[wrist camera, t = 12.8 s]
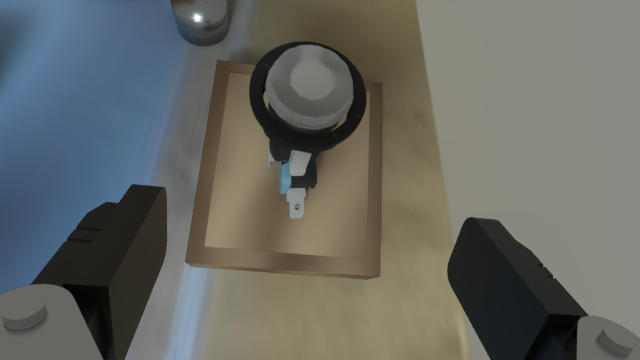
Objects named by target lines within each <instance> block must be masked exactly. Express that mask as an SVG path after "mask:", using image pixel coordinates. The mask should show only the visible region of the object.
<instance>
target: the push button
mask: <svg viewBox="0 0 640 360" xmlns="http://www.w3.org/2000/svg"><path fill="white" fill-rule="evenodd" d="M265 90H266V93H267V98H268V101H269V102H268V109H267V107H266V105H265V102H264V98H263V95H264V92H265ZM249 100H250V105H251V109H252V111H253V114H254V116H255V118H256V120H257V121H258V123H259V124H260V126H261V127H262V128H263V131H264V133H265V135H266V136H267V137H268V138H269V139H270V140H269V146H268V168H270V161H278V171H279V191H280V194H286V197H287V202H289V207H290V218H291V219H292V218H302V217H303V215H304V213H305V212H304V197H306V192H307V190H308V189H314V188H315V186H316V184H317V168H316V162H317V157H318V155H319V153H320V152H323V151H326V150H329V149H332V148H334V147H335V146H336V145H337V144H339V143H341V142H343V141H344V140H346V139H347V138H348V137H349V136H350V135H351V134H352V133H353V132H354V131H355V130H356V128H357V127H358V125H359V124H360V122H361V120H362V118H363V116H364V113H365V109H366V103H367V96H366V89H365V85H364V82H363V79H362V77H361V75H360V73H359V72H358V70H357V69H356V67H355V66H354V65H353V64H352V62H351V61H350V60H349V59H347V58H346V57H345V56H344V55H343V54H341V53H340V52H338V51H336V50H334V49H333V48H330V47H328V46H325V45H322V44H319V43H314V42H292V43H288V44H284V45H281V46H279V47H277V48H275V49H273V50H271V51H270V52H268V53H267V54H266V55H265V56H264V57H263V58H262V59H261V60H260V61H259V62H258V64H257V65H256V67H255V68H254V71H253V73H252V76H251V79H250V84H249ZM346 114H347V117H346V121H345V122H344V123H343V124H342V125H340V126H339V127H338V128H336V127H337V125H338V123H339V121H340V120H341V119H342V118H343V117H344V116H345V115H346ZM295 207H297V208H298V209H299V210H296V209H295Z"/></svg>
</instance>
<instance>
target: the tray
mask: <svg viewBox="0 0 640 360" xmlns="http://www.w3.org/2000/svg"><path fill="white" fill-rule="evenodd" d="M255 67H256V65H250V64H243V63H236V62H229V61H222V60H217V65H216V72H215V78H214V84H213V90H212V97H211V103H210V109H209V115H208V122H207V128H206V134H205V140H204V147H203V153H202V159H201V165H200V172H199V178H198V184H197V190H196V197H195V203H194V209H193V216H192V222H191V228H190V234H189V241H188V247H187V253H186V259H185V262H186V263H187V264H189V265H190V266H192V267H203V268H217V269H230V270H244V271H258V272H272V273H285V274H299V275H313V276H326V277H340V278H354V279H371V278H376V277H380V245H381V155H382V83H376V82H369V81H363V82H364V85H365V89H366V96H367V103H366V109H365V113H364V116H363V118H362V120H361V122H360V124H359V125H358V127H357V128H356V130H355V131H354V132H353V133H352V134H351V135H350V136H349V137H348V138H347V139H346V140H344V141H343V142H341V143H339V144H337V145H336V146H335V147H334V148H332V149H329V150H326V151H323V152H320V153H319V155H318V157H317V162H316V168H317V184H316V186H315V188H314V189H308V190H307V192H306V197H304V212H305V213H304V215H303V217H302V218H292V219H291V218H290V207H289V202H287V197H286V194H280V191H279V171H278V161H270V168H268V146H269V140H270V139H269V138H268V137H267V136H266V135H265V133H264V131H263V128H262V127H261V126H260V124H259V123H258V121H257V120H256V118H255V116H254V114H253V111H252V109H251V105H250V100H249V84H250V79H251V76H252V73H253V71H254V68H255ZM263 98H264V102H265V105H266V107H267V109H268V102H269V101H268V98H267V93H266V90H265V92H264V95H263ZM346 117H347V114H346V115H345V116H344V117H343V118H342V119H341V120H340V121H339V123H338V125H337V127H336V128H338V127H339V126H340V125H342V124H343V123H344V122H345V121H346ZM295 209H296V210H299V209H298V208H297V207H295Z"/></svg>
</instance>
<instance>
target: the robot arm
mask: <svg viewBox="0 0 640 360" xmlns="http://www.w3.org/2000/svg"><path fill="white" fill-rule="evenodd" d="M166 247H167V195H166V189H165V187H157V186H147V185H136V184H132V185H131V186H130V187H129V189H128V190H127V192H126V193H125V195H124V196H123V197H122V199H121V200H120V202H119V203H112V202H105V203H104V204H102V205H100V206H99V207H97V208H95V209H93V210H92V211H90V212H88V213H87V214H86V216H85V217H84V218H83V219H82V221H81V222H80V223H79V224H78V226H77V228H76V230H74V231H73V232H72V233H71V234H70V236H69V237H68V238H67V242H64V243H63V244H62V246H61V247H60V248H59V249H58V251H57V252H56V253H55V255H54V256H53V257H52V258H51V260H50V261H49V262H48V263H47V265H46V266H45V267H44V268H43V270H42V271H41V272H40V273H39V275H38V276H37V277H36V278H35V280H34V281H33V282H32V283H31V285H28V286H23V287H19V288H16V289H13V290H10V291H7V292H5V293H3V294H1V295H0V360H124V359H125V357H126V354H127V352H128V349H129V347H130V344H131V342H132V339H133V337H134V334H135V332H136V329H137V327H138V324H139V322H140V319H141V317H142V315H143V312H144V310H145V307H146V305H147V302H148V300H149V297H150V295H151V292H152V290H153V287H154V285H155V282H156V280H157V277H158V275H159V272H160V270H161V267H162V265H163V262H164V258H165V254H166ZM447 273H448V280H449V283H450V285H451V287H452V289H453V291H454V293H455V294H456V296H457V298H458V300H459V302H460V304H461V306H462V307H463V309H464V311H465V313H466V315H467V317H468V319H469V320H470V322H471V324H472V326H473V328H474V330H475V332H476V333H477V335H478V337H479V339H480V341H481V343H482V344H483V346H484V348H485V350H486V352H487V354H488V356H489V357H490V359H491V360H640V339H639V338H638V337H637V336H636V335H635V334H633V333H632V332H630V331H629V330H627V329H626V328H624V327H622V326H621V325H619V324H617V323H615V322H612V321H610V320H608V319H604V318H601V317H596V316H589V315H588V314H587V313H586V312H585V311H584V310H583V309H582V307H581V306H580V305H579V304H578V303H577V302H576V301H575V300H574V299H573V297H572V296H571V295H570V294H569V293H568V292H567V291H566V290H565V288H564V287H563V286H562V285H561V284H560V283H559V282H558V281H557V279H554V278H553V275H552V274H551V273H550V272H549V271H548V269H547V268H546V267H543V264H542V263H541V262H540V260H539V259H538V258H537V257H536V256H535V255H534V254H533V253H532V252H531V251H530V250H529V249H528V248H526V247H525V246H523V245H522V244H520V243H519V242H517V241H516V240H515V239H514V238H513V237H512V235H511V234H510V233H509V232H508V231H507V230H506V229H505V227H504V226H503V225H502V224H501V223H500V222H499V221H498V220H495V219H484V218H474V217H470V218H467V219H466V220H465V222H464V224H463V226H462V228H461V231H460V233H459V236H458V239H457V241H456V244H455V246H454V249H453V252H452V254H451V257H450V259H449V262H448V269H447Z"/></svg>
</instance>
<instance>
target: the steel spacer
mask: <svg viewBox="0 0 640 360" xmlns="http://www.w3.org/2000/svg"><path fill="white" fill-rule="evenodd" d="M171 4H172V8H173V11H174V15H175V19H176V23H177V27H178V30H179V33H180V34H181V36H182V37H183V38H184V39H185V40H186V41H188V42H189V43H191V44H194V45H197V46H211V45H215V44H217V43H219V42H220V41H222V40H223V39H224V38H225V37H226V35H227V33H228V30H229V20H228V7H227V0H171Z"/></svg>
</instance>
